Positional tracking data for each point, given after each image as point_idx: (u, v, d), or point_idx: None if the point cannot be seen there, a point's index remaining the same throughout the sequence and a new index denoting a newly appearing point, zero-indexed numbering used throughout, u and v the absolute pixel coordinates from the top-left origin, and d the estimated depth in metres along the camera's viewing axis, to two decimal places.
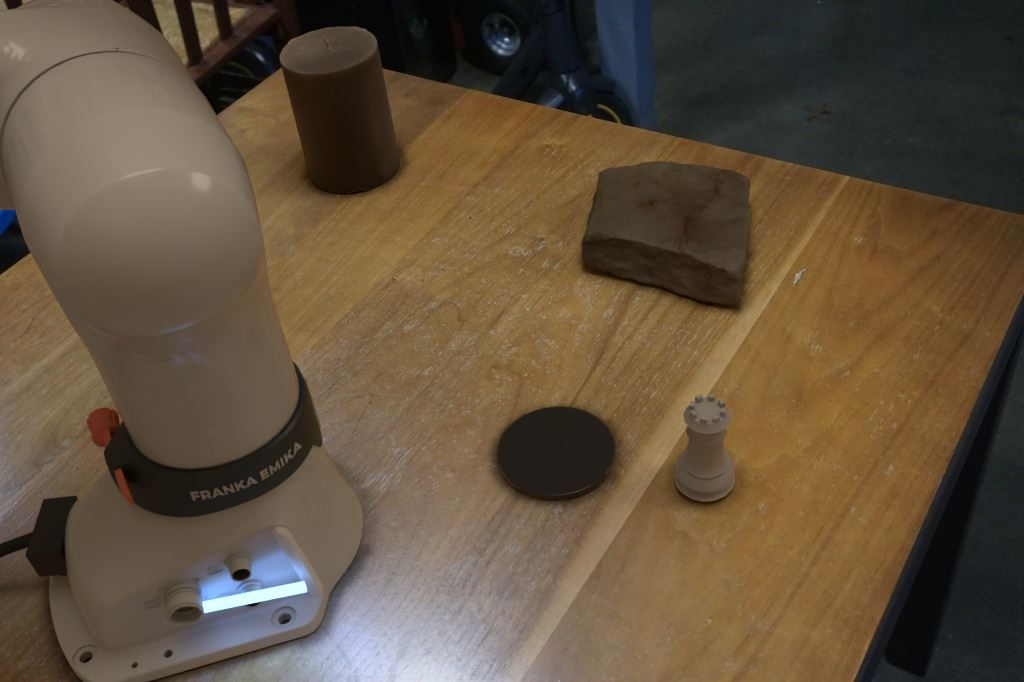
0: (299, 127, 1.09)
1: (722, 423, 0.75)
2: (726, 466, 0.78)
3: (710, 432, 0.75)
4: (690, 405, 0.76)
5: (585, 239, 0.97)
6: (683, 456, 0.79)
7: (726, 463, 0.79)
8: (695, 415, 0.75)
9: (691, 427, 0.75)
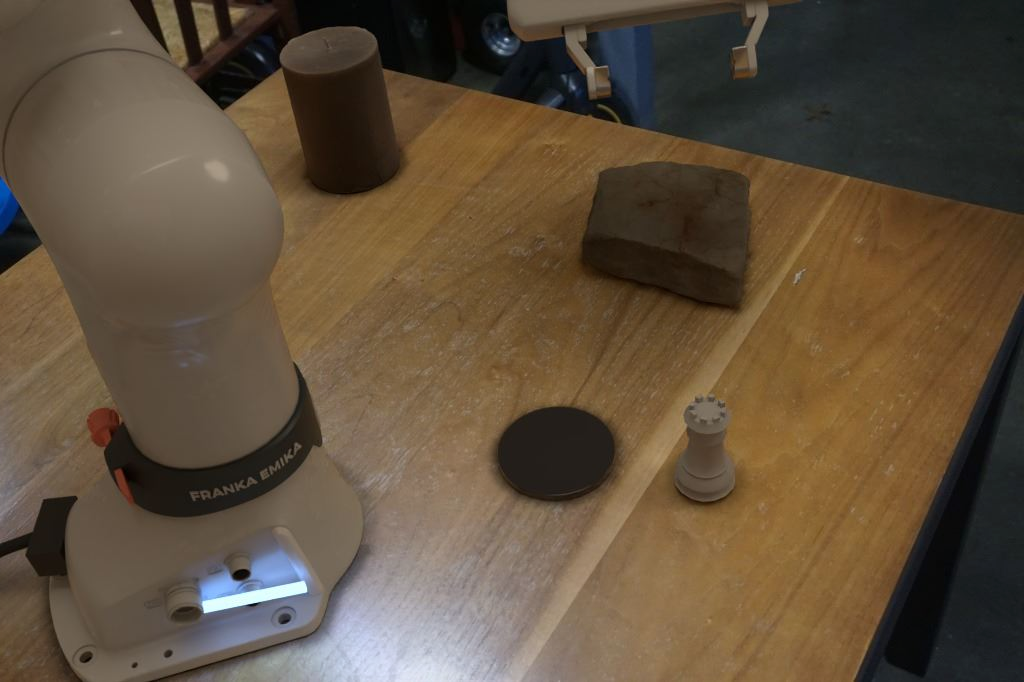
0: (299, 127, 1.09)
1: (722, 423, 0.75)
2: (726, 466, 0.78)
3: (710, 432, 0.75)
4: (690, 405, 0.76)
5: (585, 239, 0.97)
6: (683, 456, 0.79)
7: (726, 463, 0.79)
8: (695, 415, 0.75)
9: (691, 427, 0.75)
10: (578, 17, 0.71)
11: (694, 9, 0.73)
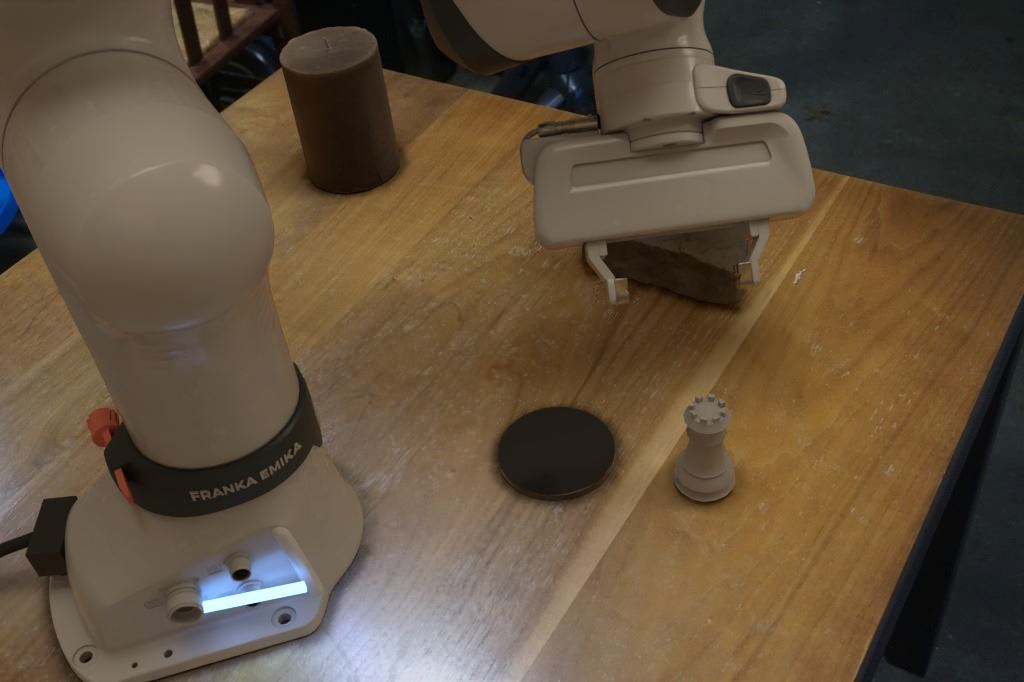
0: (299, 127, 1.09)
1: (723, 423, 0.75)
2: (726, 466, 0.78)
3: (710, 432, 0.75)
4: (690, 405, 0.76)
5: None
6: (683, 456, 0.79)
7: (726, 463, 0.79)
8: (695, 415, 0.75)
9: (691, 427, 0.75)
10: (600, 235, 0.78)
11: None
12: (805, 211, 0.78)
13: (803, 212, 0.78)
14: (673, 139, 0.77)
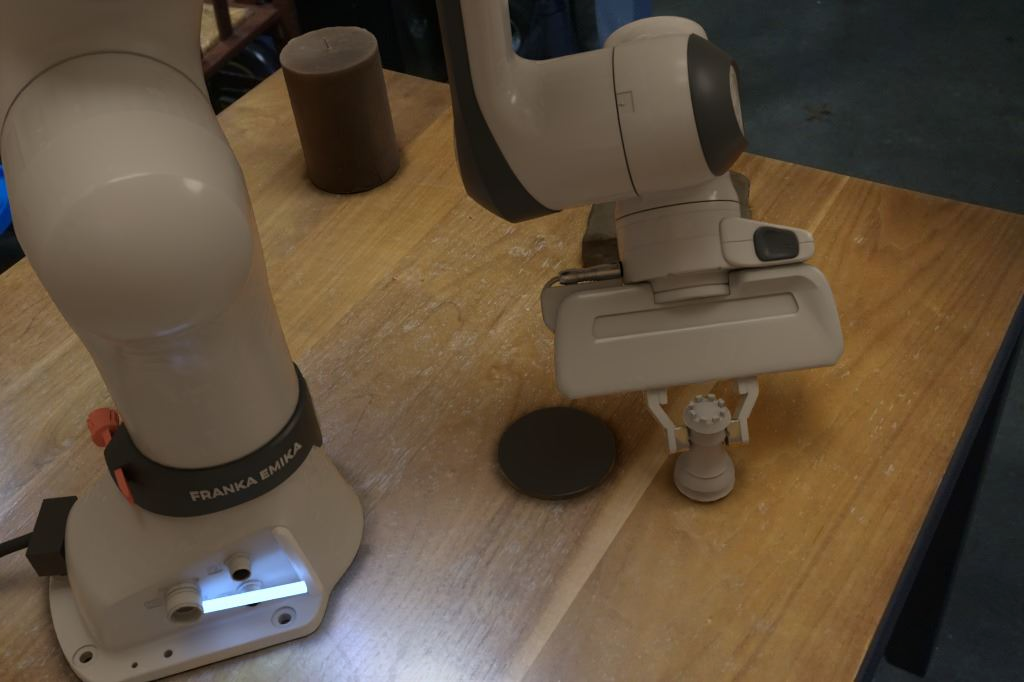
0: (299, 127, 1.09)
1: (722, 423, 0.75)
2: (726, 466, 0.78)
3: (710, 432, 0.75)
4: (690, 405, 0.76)
5: (585, 239, 0.97)
6: (683, 456, 0.79)
7: (726, 463, 0.79)
8: (695, 415, 0.75)
9: (691, 427, 0.75)
10: (623, 389, 0.76)
11: None
12: (833, 364, 0.76)
13: (831, 365, 0.76)
14: (698, 293, 0.75)
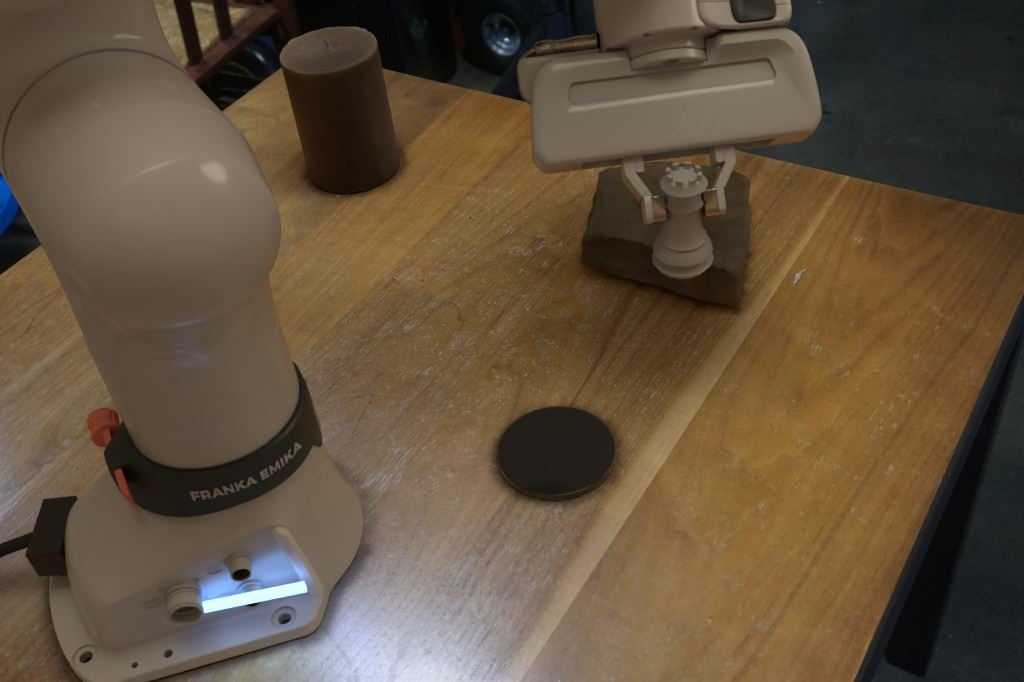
0: (299, 127, 1.09)
1: (699, 187, 0.75)
2: (704, 240, 0.78)
3: (686, 195, 0.74)
4: (666, 171, 0.75)
5: (585, 239, 0.97)
6: (661, 232, 0.79)
7: (704, 237, 0.78)
8: (671, 179, 0.75)
9: (667, 192, 0.75)
10: (599, 155, 0.75)
11: (703, 147, 0.78)
12: (811, 131, 0.76)
13: (809, 132, 0.76)
14: (674, 55, 0.74)
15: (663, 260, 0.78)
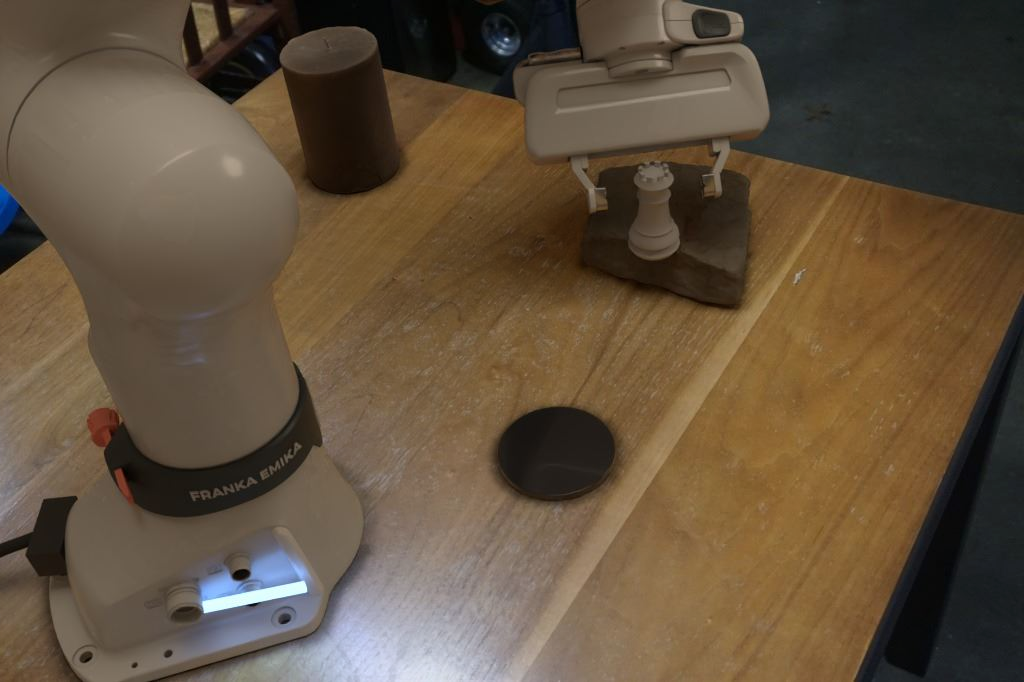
0: (299, 127, 1.09)
1: (666, 182, 0.89)
2: (671, 227, 0.92)
3: (655, 189, 0.89)
4: (639, 168, 0.90)
5: (585, 239, 0.97)
6: (635, 221, 0.93)
7: (671, 225, 0.93)
8: (643, 176, 0.89)
9: (640, 186, 0.89)
10: (582, 150, 0.89)
11: (671, 143, 0.92)
12: (760, 129, 0.90)
13: (759, 130, 0.90)
14: (645, 65, 0.88)
15: (637, 244, 0.93)
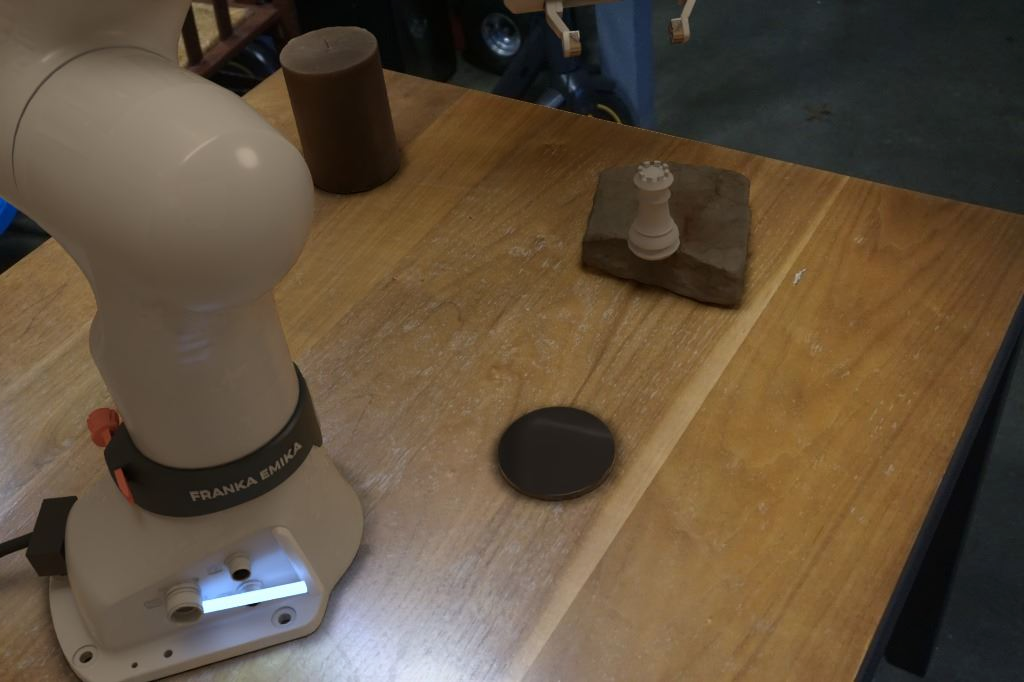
0: (299, 127, 1.09)
1: (666, 182, 0.89)
2: (671, 227, 0.92)
3: (655, 189, 0.89)
4: (639, 168, 0.90)
5: (585, 239, 0.97)
6: (635, 221, 0.93)
7: (671, 225, 0.93)
8: (643, 176, 0.89)
9: (639, 186, 0.89)
10: None
11: None
12: None
13: None
14: None
15: (637, 244, 0.93)
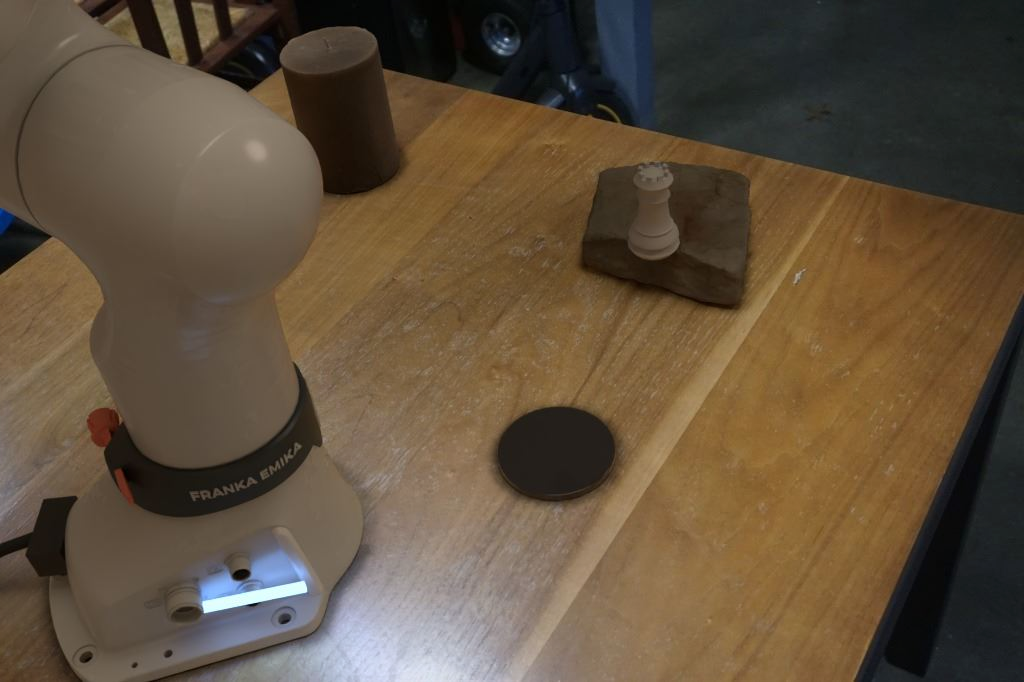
0: (299, 127, 1.09)
1: (665, 182, 0.89)
2: (671, 227, 0.92)
3: (655, 189, 0.89)
4: (638, 168, 0.90)
5: (585, 239, 0.97)
6: (635, 221, 0.93)
7: (671, 225, 0.93)
8: (643, 175, 0.89)
9: (639, 186, 0.89)
10: None
11: None
12: None
13: None
14: None
15: (637, 244, 0.93)
